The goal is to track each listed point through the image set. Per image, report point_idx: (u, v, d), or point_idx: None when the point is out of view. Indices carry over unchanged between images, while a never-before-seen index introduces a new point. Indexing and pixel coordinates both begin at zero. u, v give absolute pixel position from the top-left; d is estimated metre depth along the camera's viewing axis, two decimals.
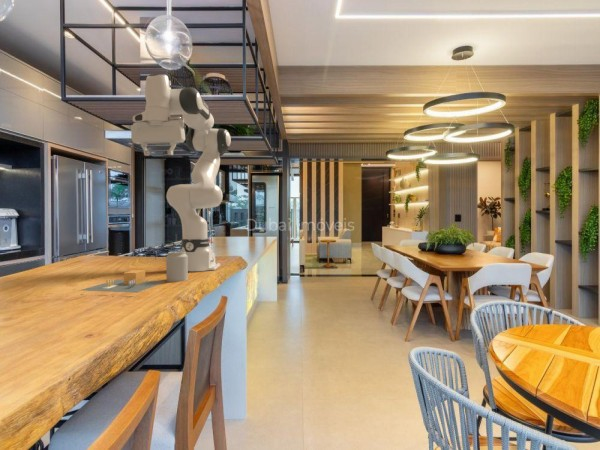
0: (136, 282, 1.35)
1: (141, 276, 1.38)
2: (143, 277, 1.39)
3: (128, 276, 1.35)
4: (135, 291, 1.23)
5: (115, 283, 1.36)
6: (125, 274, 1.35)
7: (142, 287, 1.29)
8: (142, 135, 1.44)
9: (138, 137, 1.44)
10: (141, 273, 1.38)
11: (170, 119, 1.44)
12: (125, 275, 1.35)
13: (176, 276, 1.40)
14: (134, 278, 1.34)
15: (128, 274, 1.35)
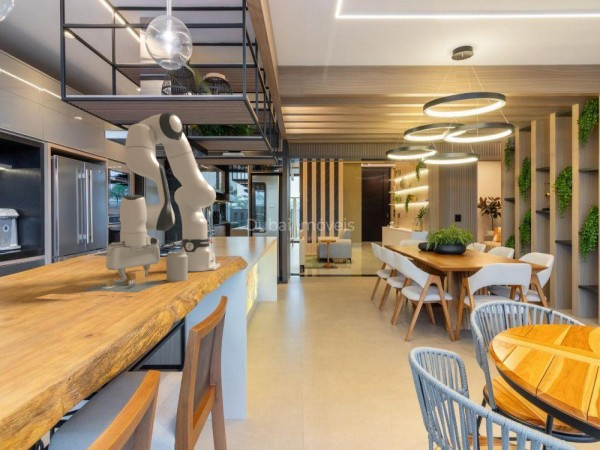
0: (136, 282, 1.35)
1: (141, 276, 1.38)
2: (143, 277, 1.39)
3: (128, 276, 1.35)
4: (135, 291, 1.23)
5: (115, 283, 1.36)
6: (125, 274, 1.35)
7: (142, 287, 1.29)
8: None
9: None
10: (141, 273, 1.38)
11: None
12: None
13: (176, 276, 1.40)
14: (134, 278, 1.34)
15: (128, 274, 1.35)
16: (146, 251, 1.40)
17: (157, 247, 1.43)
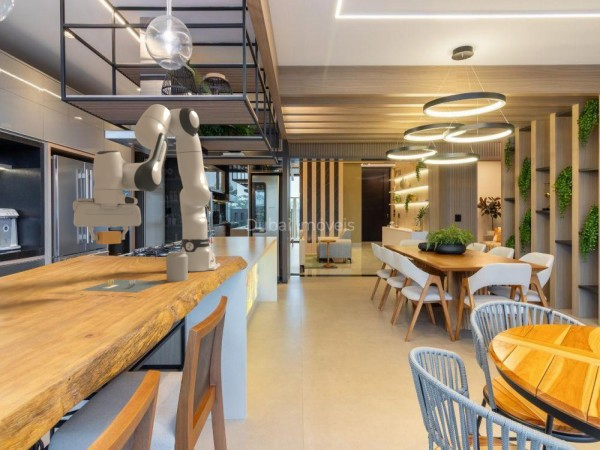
0: (104, 242, 1.27)
1: (114, 237, 1.29)
2: (117, 238, 1.30)
3: (99, 235, 1.28)
4: (135, 291, 1.23)
5: (115, 283, 1.36)
6: (97, 233, 1.28)
7: (142, 287, 1.29)
8: None
9: None
10: (114, 233, 1.29)
11: None
12: (97, 234, 1.28)
13: (176, 276, 1.40)
14: (102, 237, 1.26)
15: (99, 233, 1.28)
16: (122, 211, 1.31)
17: (136, 208, 1.32)
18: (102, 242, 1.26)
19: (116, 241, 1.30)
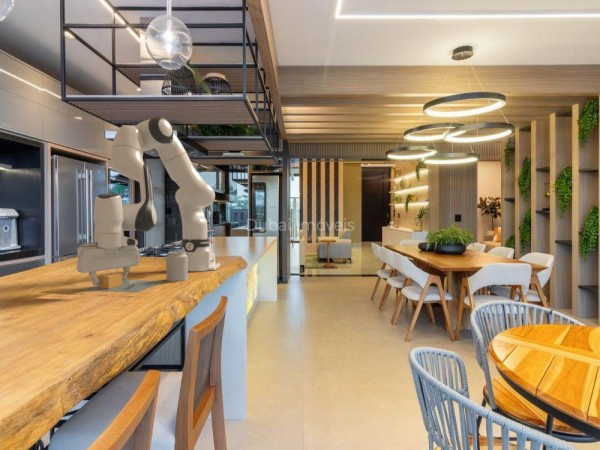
0: (110, 286, 1.27)
1: (117, 280, 1.31)
2: (119, 281, 1.32)
3: (102, 279, 1.28)
4: (135, 291, 1.23)
5: None
6: (99, 277, 1.28)
7: (142, 287, 1.29)
8: None
9: None
10: (117, 276, 1.30)
11: None
12: (99, 278, 1.28)
13: (176, 276, 1.40)
14: (107, 282, 1.27)
15: (102, 277, 1.28)
16: (123, 253, 1.33)
17: (136, 248, 1.35)
18: (107, 286, 1.27)
19: (119, 284, 1.31)
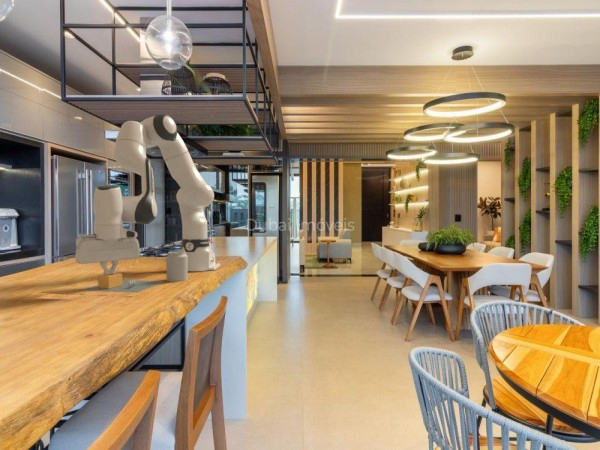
0: (110, 286, 1.27)
1: (117, 280, 1.31)
2: (119, 281, 1.32)
3: (102, 279, 1.28)
4: (135, 291, 1.23)
5: None
6: (99, 277, 1.28)
7: (142, 287, 1.29)
8: None
9: None
10: (117, 276, 1.30)
11: None
12: (99, 278, 1.28)
13: (176, 276, 1.40)
14: (107, 282, 1.27)
15: (102, 277, 1.28)
16: (123, 245, 1.32)
17: (136, 241, 1.35)
18: (107, 286, 1.27)
19: (119, 284, 1.31)
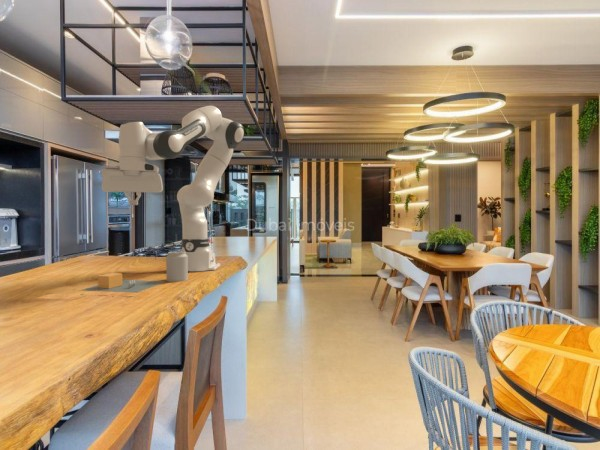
0: (110, 286, 1.27)
1: (117, 280, 1.31)
2: (119, 281, 1.32)
3: (102, 279, 1.28)
4: (135, 291, 1.23)
5: None
6: (99, 277, 1.28)
7: (142, 287, 1.29)
8: None
9: None
10: (117, 276, 1.30)
11: None
12: (99, 278, 1.28)
13: (176, 276, 1.40)
14: (107, 282, 1.27)
15: (102, 277, 1.28)
16: (144, 178, 1.39)
17: (156, 174, 1.39)
18: (107, 286, 1.27)
19: (119, 284, 1.31)
